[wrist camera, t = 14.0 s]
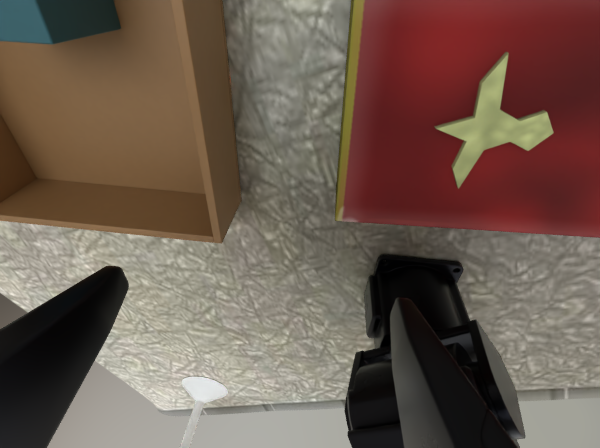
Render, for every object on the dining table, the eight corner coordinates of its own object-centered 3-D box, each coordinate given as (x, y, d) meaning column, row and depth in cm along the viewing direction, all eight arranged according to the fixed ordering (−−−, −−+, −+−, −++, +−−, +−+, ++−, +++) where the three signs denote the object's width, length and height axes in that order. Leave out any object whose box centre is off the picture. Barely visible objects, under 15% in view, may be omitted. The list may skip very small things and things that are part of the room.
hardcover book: (669, 209, 20) (734, 255, 16) (335, 190, 21) (334, 229, 18) (895, -40, 12) (1101, -47, 9) (354, -36, 14) (357, -40, 11)
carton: (203, -199, 12) (136, -284, 8) (241, 200, 23) (221, 243, 19) (-182, -205, 13) (-405, -283, 9) (37, 181, 24) (-20, 218, 20)
